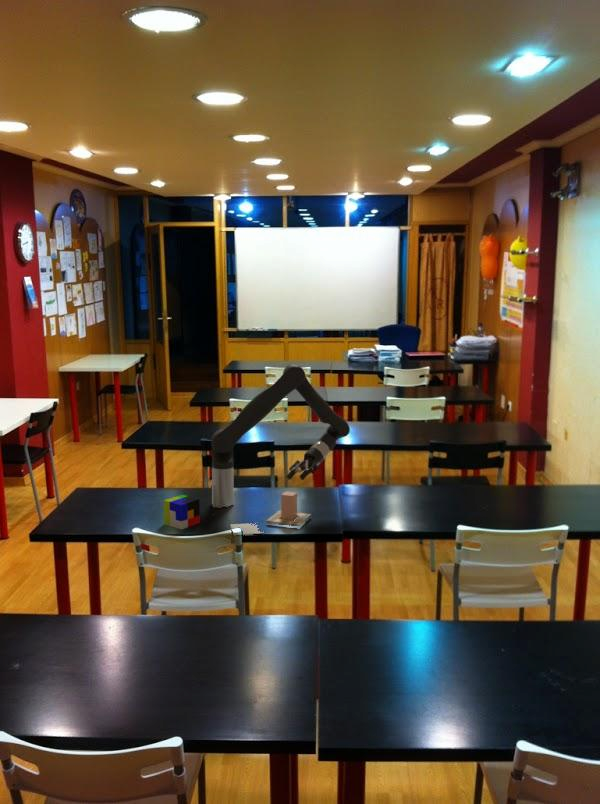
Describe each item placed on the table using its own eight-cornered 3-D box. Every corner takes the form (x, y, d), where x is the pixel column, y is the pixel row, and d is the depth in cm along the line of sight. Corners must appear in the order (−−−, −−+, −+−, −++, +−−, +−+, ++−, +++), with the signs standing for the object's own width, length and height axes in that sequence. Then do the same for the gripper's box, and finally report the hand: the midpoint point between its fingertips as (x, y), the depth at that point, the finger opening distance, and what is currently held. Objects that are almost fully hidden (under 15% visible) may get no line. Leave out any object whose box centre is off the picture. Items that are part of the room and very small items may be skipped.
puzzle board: (266, 525, 285) (266, 520, 285) (279, 514, 298) (279, 510, 298) (299, 529, 281) (299, 524, 280) (310, 518, 294) (311, 514, 293)
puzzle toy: (181, 529, 280) (181, 505, 279) (164, 524, 286) (163, 500, 285) (199, 523, 288) (199, 499, 286) (182, 518, 294) (182, 494, 292)
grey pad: (232, 536, 273) (232, 534, 273) (230, 525, 284) (230, 524, 284) (263, 534, 275) (263, 532, 275) (260, 524, 287) (260, 522, 286)
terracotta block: (281, 523, 288) (281, 494, 286) (285, 519, 293) (285, 491, 291) (292, 524, 286) (292, 496, 284) (297, 520, 291) (297, 492, 289)
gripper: (301, 447, 306) (279, 471, 297) (324, 446, 295) (301, 471, 286) (310, 460, 309) (287, 485, 300) (332, 460, 298) (310, 485, 289)
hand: (294, 478), depth 293 cm, fingers open, 8 cm apart
